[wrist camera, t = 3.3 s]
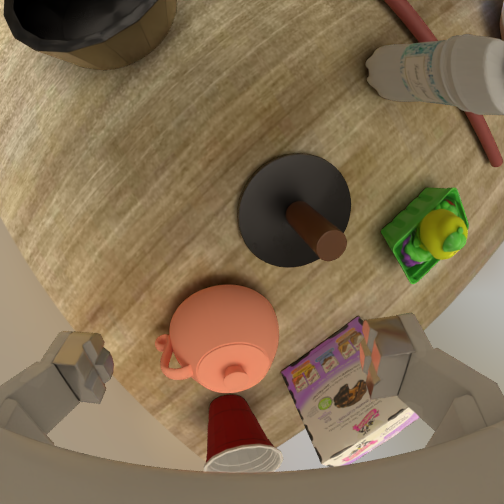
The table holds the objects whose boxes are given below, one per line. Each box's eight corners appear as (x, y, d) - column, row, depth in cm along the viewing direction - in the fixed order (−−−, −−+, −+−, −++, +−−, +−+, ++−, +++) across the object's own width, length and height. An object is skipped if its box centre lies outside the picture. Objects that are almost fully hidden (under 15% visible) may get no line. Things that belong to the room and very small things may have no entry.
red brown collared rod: (493, 153, 37) (508, 158, 34) (485, 167, 37) (500, 172, 35) (282, -98, 17) (292, -111, 15) (265, -88, 18) (273, -101, 15)
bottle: (348, 56, 28) (509, 41, 10) (392, 38, 27) (544, 29, 10) (373, 111, 31) (531, 144, 13) (413, 90, 30) (563, 114, 13)
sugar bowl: (270, 347, 42) (294, 405, 33) (165, 363, 39) (168, 426, 30) (270, 266, 36) (302, 322, 27) (145, 283, 34) (138, 346, 25)
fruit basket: (391, 268, 41) (443, 315, 31) (363, 224, 37) (422, 268, 27) (445, 215, 39) (503, 248, 29) (425, 166, 35) (492, 193, 25)
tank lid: (257, 136, 30) (288, 149, 22) (360, 172, 34) (412, 196, 26) (222, 252, 34) (238, 300, 26) (322, 270, 38) (359, 314, 30)
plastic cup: (274, 386, 45) (299, 450, 35) (246, 425, 49) (263, 484, 38) (205, 377, 42) (219, 449, 31) (184, 419, 45) (193, 484, 35)
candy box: (298, 386, 47) (338, 472, 32) (279, 370, 44) (319, 465, 30) (371, 334, 46) (430, 412, 31) (358, 313, 43) (423, 397, 28)
